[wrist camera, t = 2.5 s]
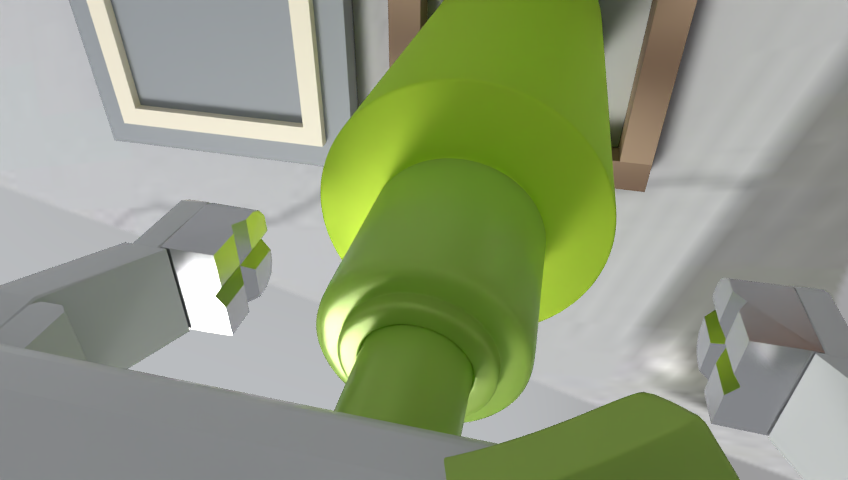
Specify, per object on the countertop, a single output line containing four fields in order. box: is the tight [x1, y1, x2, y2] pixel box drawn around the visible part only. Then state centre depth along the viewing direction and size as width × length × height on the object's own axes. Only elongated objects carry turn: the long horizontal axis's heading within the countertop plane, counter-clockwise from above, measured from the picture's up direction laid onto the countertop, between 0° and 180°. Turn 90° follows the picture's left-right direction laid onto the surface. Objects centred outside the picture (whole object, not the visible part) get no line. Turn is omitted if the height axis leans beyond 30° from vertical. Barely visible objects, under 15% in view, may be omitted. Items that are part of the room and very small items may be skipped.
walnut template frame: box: [388, 0, 697, 192], centre depth 21 cm, size 11×10×1 cm
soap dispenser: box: [316, 0, 740, 480], centre depth 14 cm, size 6×7×20 cm
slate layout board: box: [69, 0, 358, 167], centre depth 23 cm, size 13×12×1 cm
